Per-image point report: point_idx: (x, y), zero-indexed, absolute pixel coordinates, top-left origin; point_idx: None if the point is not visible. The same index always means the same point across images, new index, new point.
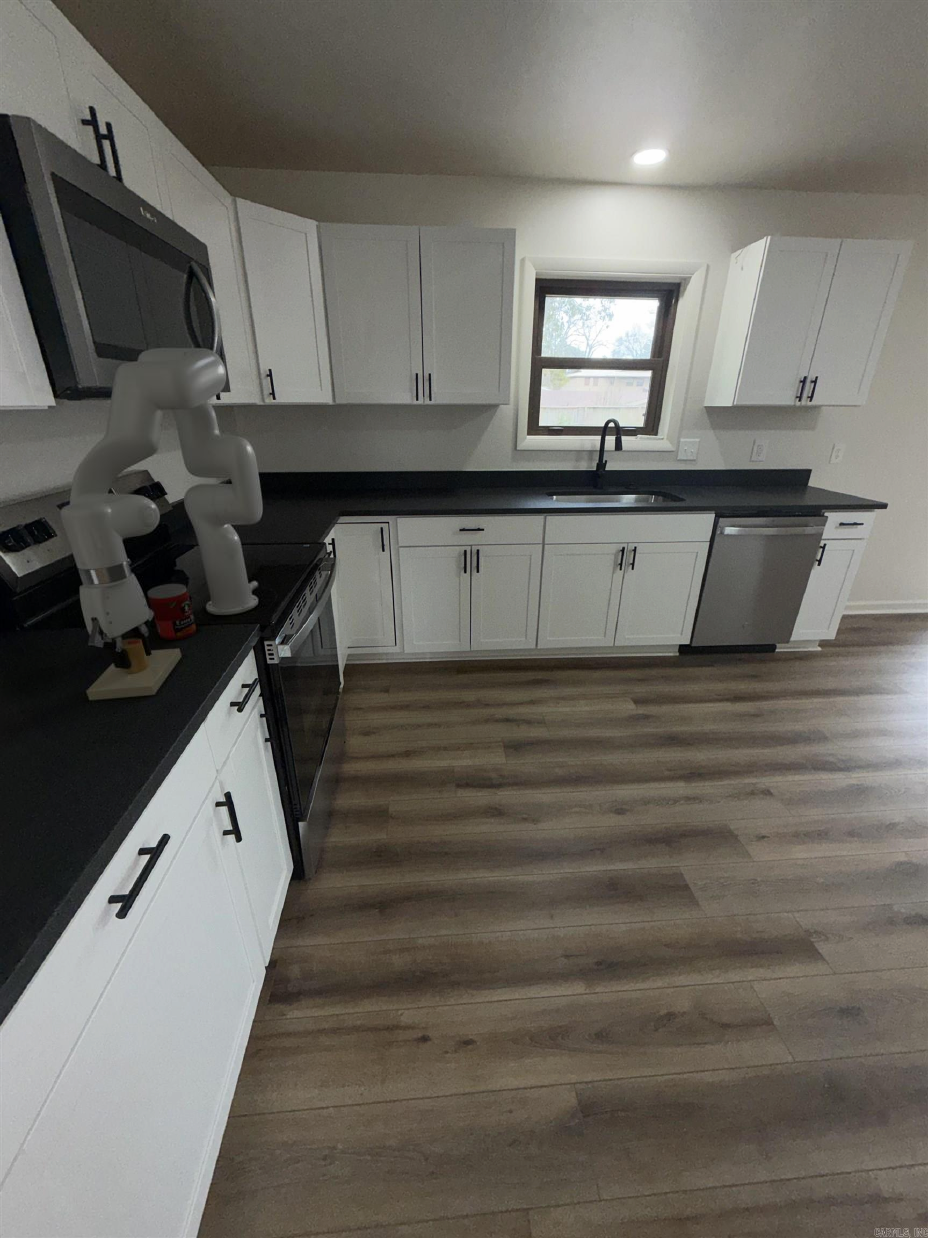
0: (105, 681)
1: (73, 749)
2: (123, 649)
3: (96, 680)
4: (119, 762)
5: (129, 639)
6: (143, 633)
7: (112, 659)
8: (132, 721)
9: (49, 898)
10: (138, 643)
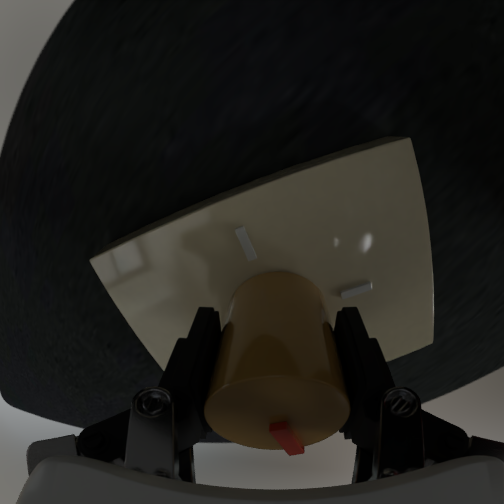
0: (153, 276)
1: (34, 340)
2: (201, 433)
3: (146, 232)
4: (66, 402)
5: (329, 401)
6: (355, 457)
7: (170, 359)
8: (114, 386)
9: (13, 404)
10: (280, 448)
